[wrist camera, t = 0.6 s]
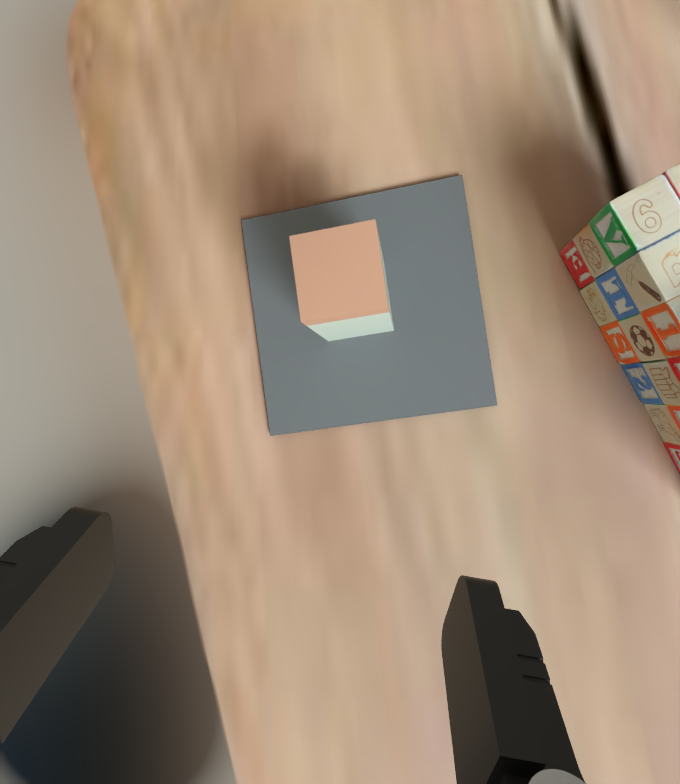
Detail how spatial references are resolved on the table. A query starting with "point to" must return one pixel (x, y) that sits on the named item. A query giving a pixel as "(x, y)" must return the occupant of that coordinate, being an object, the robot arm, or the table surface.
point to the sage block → (342, 281)
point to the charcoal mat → (408, 307)
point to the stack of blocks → (638, 292)
